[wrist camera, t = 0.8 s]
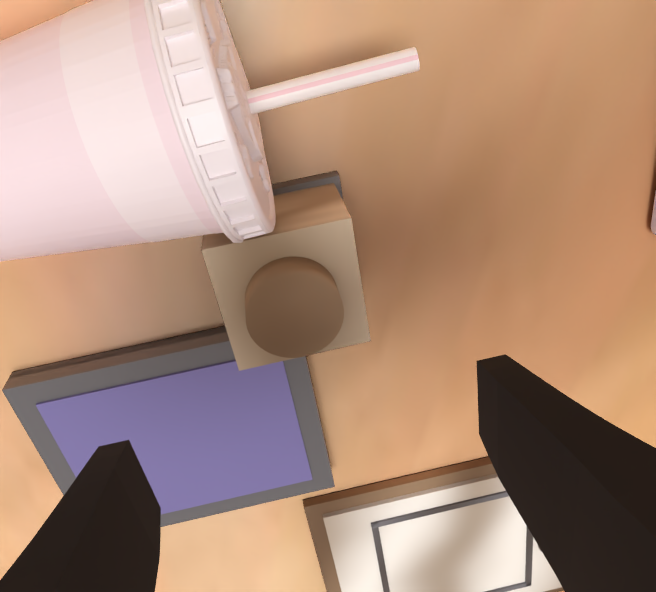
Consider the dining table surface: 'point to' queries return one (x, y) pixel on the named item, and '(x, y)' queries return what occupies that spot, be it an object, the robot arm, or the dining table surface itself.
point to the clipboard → (428, 536)
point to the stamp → (291, 278)
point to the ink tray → (181, 422)
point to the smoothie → (141, 127)
